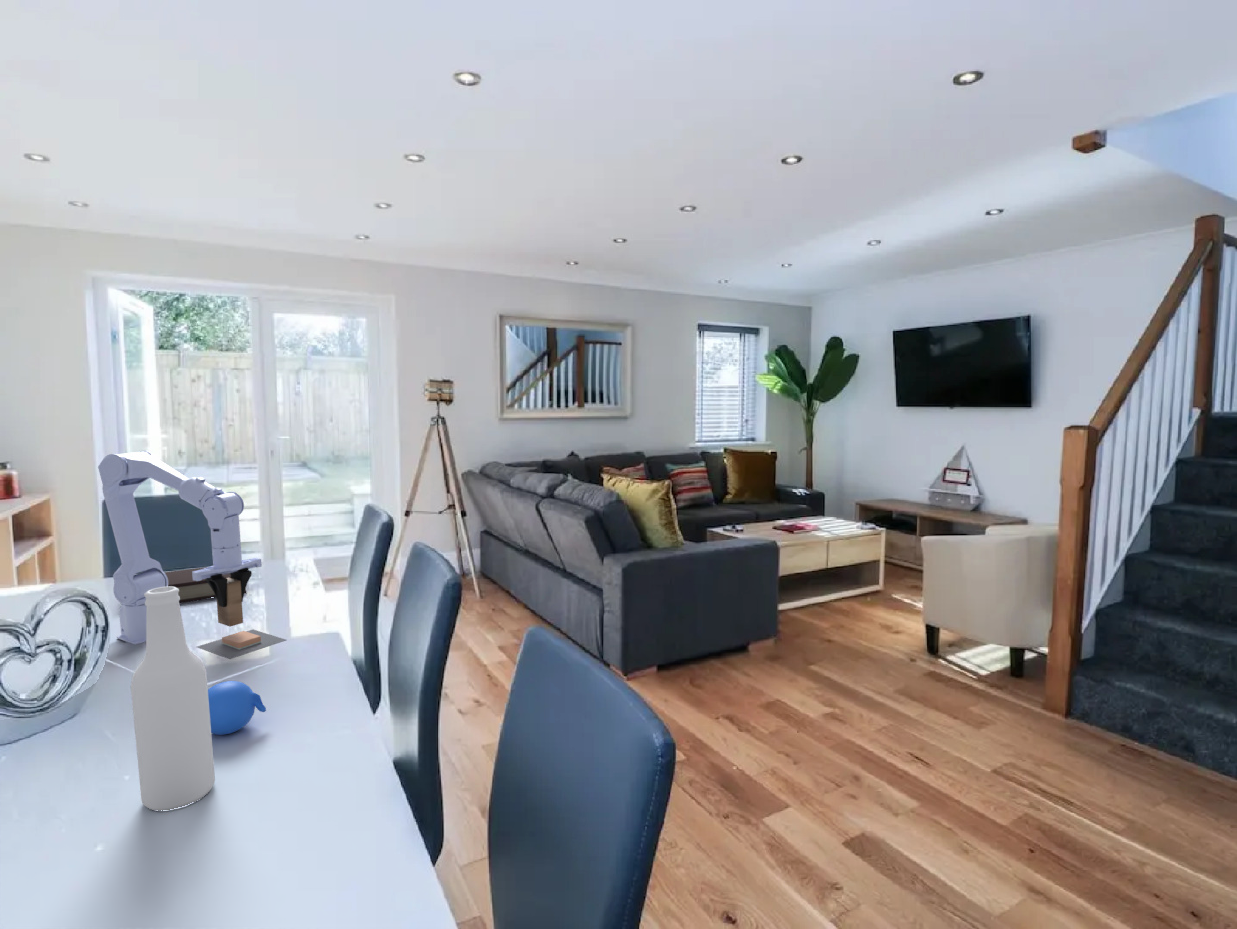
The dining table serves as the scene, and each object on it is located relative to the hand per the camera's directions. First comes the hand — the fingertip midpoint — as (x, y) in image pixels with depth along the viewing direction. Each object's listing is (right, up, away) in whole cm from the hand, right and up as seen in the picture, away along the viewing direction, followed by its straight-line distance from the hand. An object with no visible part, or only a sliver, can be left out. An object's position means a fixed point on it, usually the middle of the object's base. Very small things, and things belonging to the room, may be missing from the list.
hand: (230, 604), depth 155 cm
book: (-35, -6, +41) cm, 54 cm away
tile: (0, -8, +1) cm, 8 cm away
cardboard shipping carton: (-1, -5, +1) cm, 5 cm away
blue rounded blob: (+23, -13, -39) cm, 47 cm away
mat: (+3, -9, -1) cm, 10 cm away
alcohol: (+27, -15, -59) cm, 67 cm away
